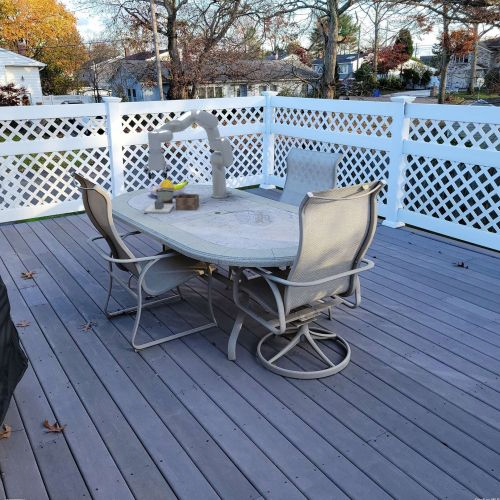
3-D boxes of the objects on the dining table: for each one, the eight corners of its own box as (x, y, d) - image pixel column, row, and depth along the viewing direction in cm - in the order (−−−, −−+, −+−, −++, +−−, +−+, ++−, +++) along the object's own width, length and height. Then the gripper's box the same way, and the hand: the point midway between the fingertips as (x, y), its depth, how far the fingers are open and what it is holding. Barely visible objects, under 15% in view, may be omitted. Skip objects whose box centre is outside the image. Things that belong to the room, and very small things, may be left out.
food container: (176, 202, 331) (175, 187, 327) (174, 204, 325) (173, 189, 322) (159, 201, 332) (157, 187, 329) (156, 203, 326) (155, 189, 323)
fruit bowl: (142, 198, 341) (141, 182, 337) (160, 190, 365) (158, 175, 362) (178, 201, 333) (177, 185, 329) (194, 192, 358) (193, 177, 354)
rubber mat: (174, 207, 316) (174, 206, 316) (169, 214, 301) (169, 213, 300) (150, 207, 317) (150, 206, 316) (144, 214, 302) (144, 212, 301)
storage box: (199, 205, 320) (198, 194, 318) (196, 210, 308) (195, 198, 305) (179, 205, 321) (179, 194, 318) (176, 210, 309) (175, 198, 306)
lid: (173, 206, 315) (173, 197, 313) (168, 212, 301) (168, 203, 299) (150, 206, 316) (150, 197, 314) (145, 212, 302) (144, 203, 300)
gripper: (170, 150, 299) (172, 177, 305) (143, 151, 300) (145, 178, 306) (168, 152, 292) (170, 180, 298) (140, 152, 293) (142, 180, 299)
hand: (157, 179), depth 302 cm, fingers open, 9 cm apart
